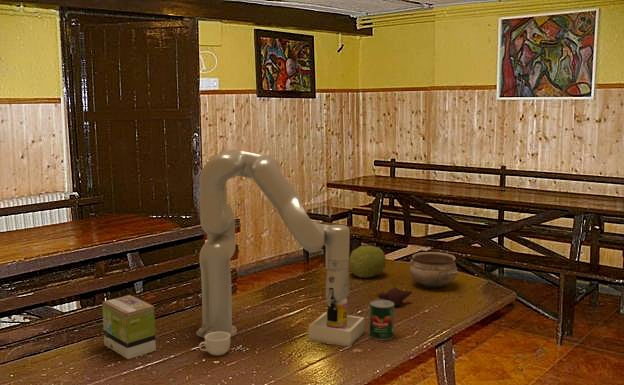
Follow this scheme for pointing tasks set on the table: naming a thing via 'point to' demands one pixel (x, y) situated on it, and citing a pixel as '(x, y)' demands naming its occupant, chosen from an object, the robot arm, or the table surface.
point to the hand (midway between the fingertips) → (336, 316)
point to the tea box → (129, 326)
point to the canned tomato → (381, 319)
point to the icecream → (395, 295)
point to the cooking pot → (433, 269)
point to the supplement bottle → (339, 315)
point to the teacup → (216, 343)
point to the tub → (336, 331)
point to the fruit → (367, 261)
